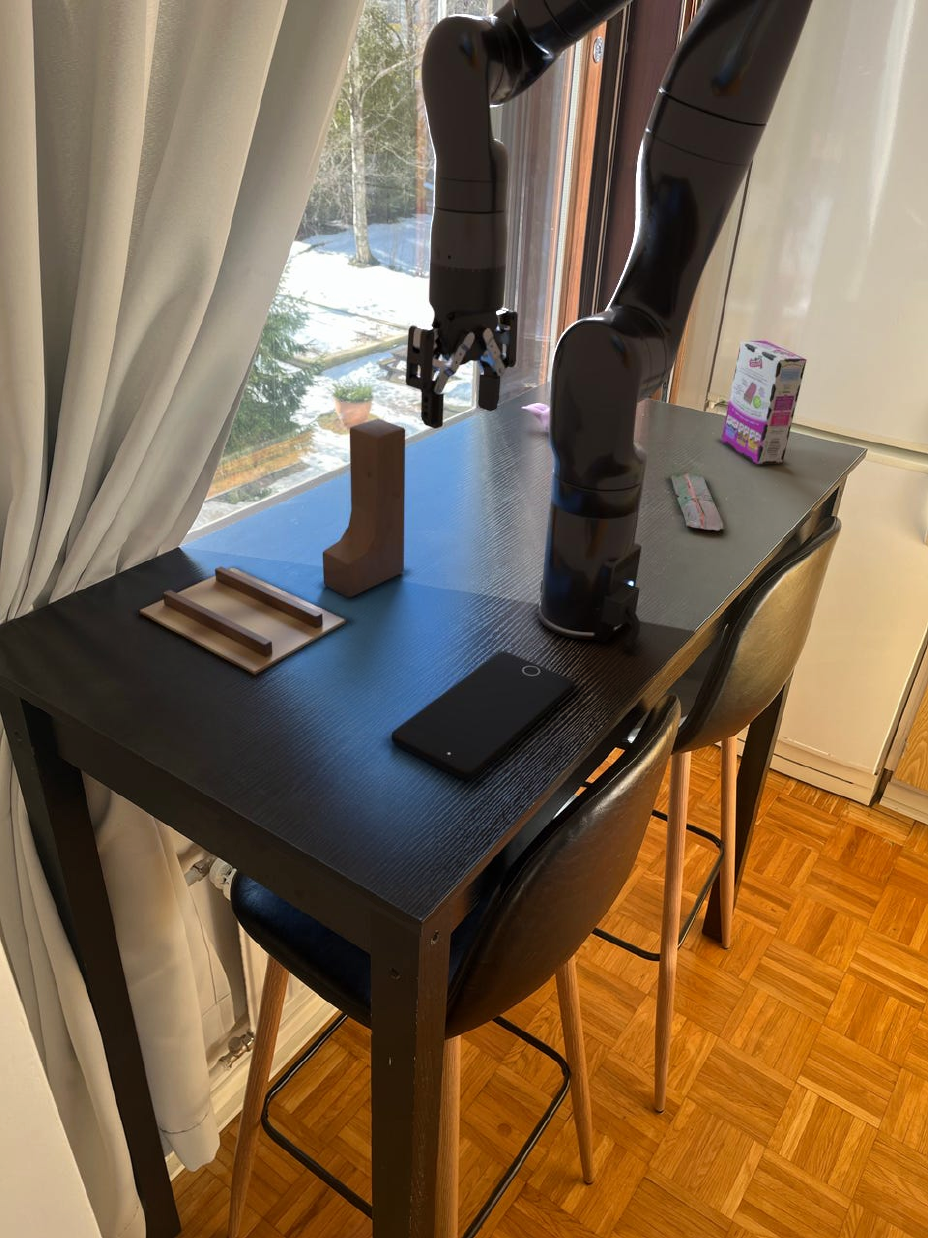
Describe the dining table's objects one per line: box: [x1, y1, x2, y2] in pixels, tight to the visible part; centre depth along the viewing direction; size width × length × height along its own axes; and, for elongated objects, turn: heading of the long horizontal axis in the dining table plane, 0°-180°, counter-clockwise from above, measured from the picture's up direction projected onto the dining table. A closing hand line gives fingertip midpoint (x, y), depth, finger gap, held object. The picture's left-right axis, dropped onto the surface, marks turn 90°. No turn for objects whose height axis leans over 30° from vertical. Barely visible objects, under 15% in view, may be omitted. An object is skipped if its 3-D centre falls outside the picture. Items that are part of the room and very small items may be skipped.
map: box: [670, 472, 724, 531], centre depth 133 cm, size 5×20×1 cm, turn 176°
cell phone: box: [391, 650, 576, 781], centre depth 89 cm, size 9×18×1 cm, turn 144°
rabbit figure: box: [521, 402, 549, 433], centre depth 153 cm, size 6×6×15 cm
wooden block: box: [322, 418, 406, 598], centre depth 106 cm, size 9×4×18 cm, turn 139°
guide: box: [139, 565, 346, 675], centre depth 102 cm, size 18×13×2 cm
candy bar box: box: [721, 340, 807, 466], centre depth 147 cm, size 11×5×16 cm, turn 17°
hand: (460, 417), depth 101 cm, fingers open, 8 cm apart
